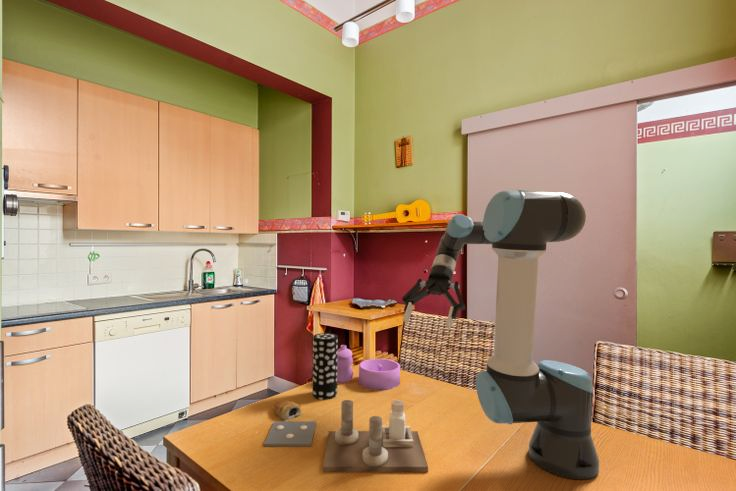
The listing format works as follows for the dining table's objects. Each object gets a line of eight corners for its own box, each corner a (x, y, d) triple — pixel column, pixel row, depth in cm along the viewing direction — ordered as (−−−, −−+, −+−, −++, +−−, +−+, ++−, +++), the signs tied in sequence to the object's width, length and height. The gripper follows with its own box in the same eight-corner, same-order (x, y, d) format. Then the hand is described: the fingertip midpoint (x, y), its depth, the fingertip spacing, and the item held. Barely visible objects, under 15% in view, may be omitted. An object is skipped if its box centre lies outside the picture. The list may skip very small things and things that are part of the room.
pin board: (417, 435, 102) (417, 396, 102) (427, 471, 86) (428, 425, 86) (328, 435, 102) (329, 396, 102) (323, 471, 86) (323, 425, 86)
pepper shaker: (388, 442, 97) (389, 405, 97) (390, 434, 101) (390, 398, 100) (404, 443, 96) (405, 406, 96) (405, 435, 100) (405, 400, 100)
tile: (316, 423, 108) (316, 420, 108) (310, 446, 97) (310, 442, 96) (274, 423, 108) (274, 420, 108) (263, 446, 96) (263, 442, 96)
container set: (399, 375, 148) (399, 342, 148) (400, 391, 133) (400, 353, 133) (336, 373, 150) (336, 340, 150) (329, 388, 135) (330, 351, 134)
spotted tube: (332, 400, 124) (333, 340, 123) (308, 398, 125) (309, 338, 125) (339, 391, 132) (340, 334, 132) (317, 388, 134) (317, 332, 133)
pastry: (267, 411, 116) (268, 399, 116) (287, 405, 121) (287, 393, 121) (284, 422, 109) (284, 409, 109) (303, 415, 114) (304, 402, 114)
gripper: (481, 280, 124) (469, 336, 111) (410, 276, 135) (392, 326, 123) (478, 265, 119) (465, 321, 106) (404, 262, 131) (385, 312, 118)
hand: (426, 324), depth 114 cm, fingers open, 13 cm apart
